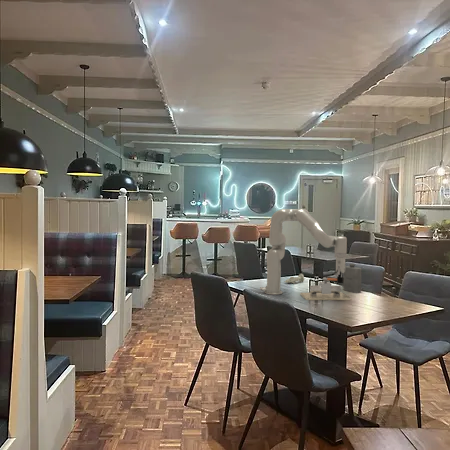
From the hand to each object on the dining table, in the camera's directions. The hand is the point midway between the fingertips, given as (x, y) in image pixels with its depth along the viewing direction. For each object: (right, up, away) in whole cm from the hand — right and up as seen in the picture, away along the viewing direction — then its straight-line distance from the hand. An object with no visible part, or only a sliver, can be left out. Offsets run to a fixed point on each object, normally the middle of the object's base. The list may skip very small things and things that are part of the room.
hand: (339, 282), depth 282 cm
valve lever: (-3, 0, +5) cm, 6 cm away
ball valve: (-8, -11, +7) cm, 15 cm away
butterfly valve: (-20, -8, +59) cm, 63 cm away
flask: (+17, -10, +30) cm, 36 cm away
